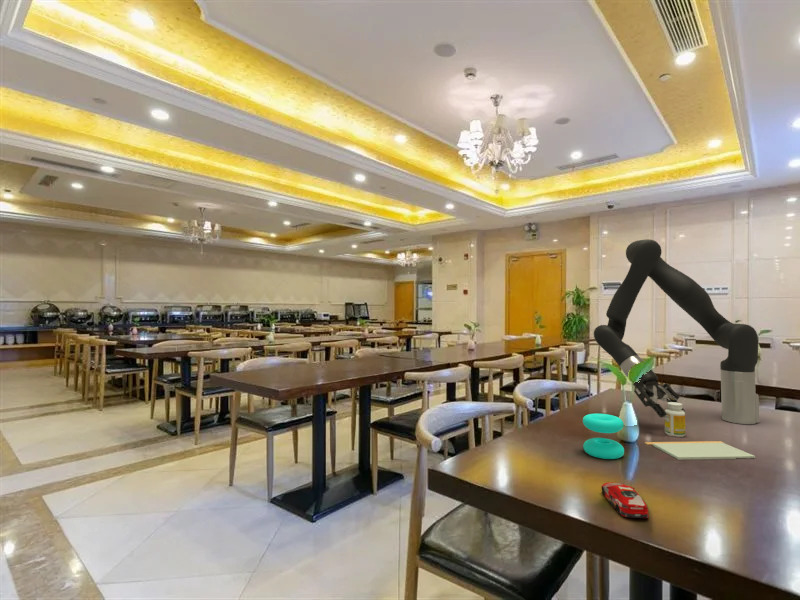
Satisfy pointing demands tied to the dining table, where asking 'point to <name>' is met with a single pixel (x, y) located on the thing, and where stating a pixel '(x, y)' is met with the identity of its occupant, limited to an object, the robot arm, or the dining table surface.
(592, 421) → the donuts
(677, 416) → the supplement bottle
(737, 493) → the dining table surface
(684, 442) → the strip
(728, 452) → the mat
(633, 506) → the race car
